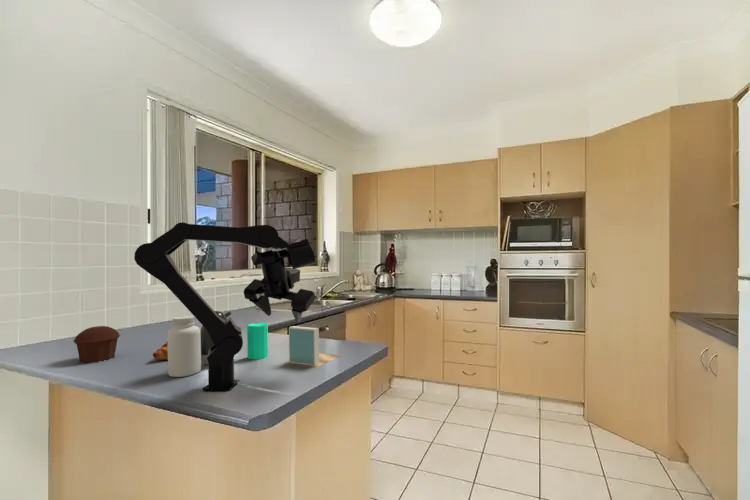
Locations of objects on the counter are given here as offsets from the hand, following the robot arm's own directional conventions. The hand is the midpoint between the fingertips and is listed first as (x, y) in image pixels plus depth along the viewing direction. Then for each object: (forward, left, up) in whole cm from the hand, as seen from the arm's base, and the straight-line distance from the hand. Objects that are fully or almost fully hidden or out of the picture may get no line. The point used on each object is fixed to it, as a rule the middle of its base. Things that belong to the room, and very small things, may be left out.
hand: (284, 318), depth 105 cm
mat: (+7, -7, -14) cm, 17 cm away
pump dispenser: (+6, +22, -14) cm, 27 cm away
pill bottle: (-4, +26, -14) cm, 30 cm away
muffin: (+11, +62, -14) cm, 64 cm away
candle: (+10, +11, -14) cm, 20 cm away
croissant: (+16, +37, -14) cm, 43 cm away
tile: (+2, -5, -13) cm, 14 cm away
